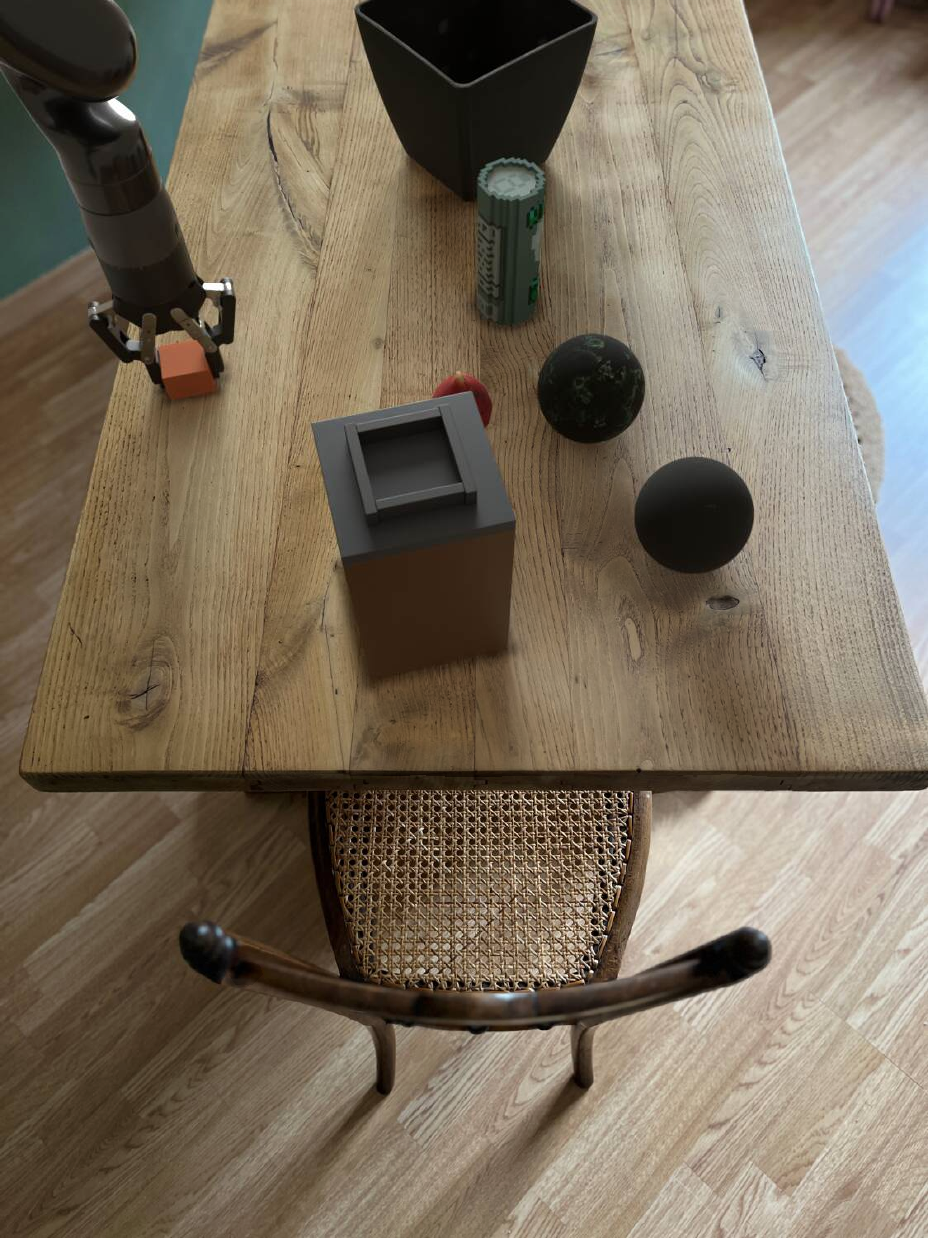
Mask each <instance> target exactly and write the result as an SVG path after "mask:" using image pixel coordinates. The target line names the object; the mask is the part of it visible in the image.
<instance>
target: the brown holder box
mask: <svg viewBox="0 0 928 1238" xmlns="http://www.w3.org/2000/svg"><path fill="white" fill-rule="evenodd" d="M310 426H311V431H312V435H313V439H314V444H315V449H316V454H317V458H318V462H319V466H320V471H321V474H322V479H323V484H324V488H325V493H326V498H327V501H328V507H329V511H330V515H331V520H332V524H333V528H334V533H335V537H336V542H337V547H338V552H339V556H340V559H341V564H342V569H343V572H344V577H345V581H346V585H347V590H348V593H349V598H350V602H351V607H352V611H353V615H354V621H355V624H356V627H357V632H358V637H359V642H360V645H361V648H362V653H363V658H364V662H365V666H366V671H367V674H368V680H369V681H370V682H373V681H376V680H381V679H387V678H389V677H395V676H399V675H402V674H408V673H412V672H415V671H416V672H417V671H420V670H424V669H430V668H433V667H437V666H443V665H446V664H451V663H454V662H460V661H463V660H469V659H472V658H476V657H480V656H484V655H489V654H493V653H494V654H495V653H498V652H502V651H507V650H508V649H509V634H510V622H511V620H510V619H511V605H512V591H513V577H514V575H513V574H514V561H515V547H516V546H515V545H516V534H517V533H516V530H517V518H516V516H515V512H514V509H513V506H512V503H511V501H510V498H509V495H508V492H507V489H506V486H505V483H504V481H503V478H502V474H501V471H500V469H499V466H498V462H497V459H496V457H495V453H494V451H493V448H492V445H491V442H490V440H489V437H488V434H487V431H486V428H484V425H483V422H482V419H481V416H480V413H479V410H478V407H477V404H476V401H475V398H474V395H473V393H472V391H470V392H464V393H459V394H454V395H449V396H444V397H439V398H434V399H432V398H430V399H424V400H420V401H419V400H418V401H415V402H410V403H405V404H400V405H399V404H398V405H394V406H389V407H385V408H380V409H379V408H378V409H375V410H369V411H365V412H360V413H354V414H350V415H349V414H348V415H344V416H340V417H339V416H338V417H334V418H328V419H323V420H319V421H314V422H311V423H310Z"/></svg>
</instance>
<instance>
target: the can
mask: <svg viewBox="0 0 928 1238" xmlns="http://www.w3.org/2000/svg"><path fill="white" fill-rule="evenodd" d="M546 187H547V179H546V173H545V172H544V171H543V170H542V169H541V168H540V167H539V166H537V165H536V164H535V163H534V162H532V163H529V162H528V161H527V160H526V159H524V160H520V159H519V158H518V159H514V158H513V157H512V158H510V159H507V160H505V159H504V158H502V159H499V160H497V161H494V162H491V163H489V164H486V165H485V168H484V169H482V170H480V174H479V177H478V178H477V200H476V305H477V312H478V313H479V314H480V315H481V316H482V317H483V318H484V320H485V321H486V322H490V321H491V322H492V324H493V325H494V326H496V325H499V326H500V327H501V326H504V327H509V326H511V325H512V326H513V327H515V326H518V325H520V324H523V323H525V322H528V321H530V320H531V317H532V316H533V315H535V314H536V313H535V311H536V310H537V309H536V308H537V307H538V306H537V305H538V294H539V293H538V291H539V281H540V266H541V257H542V255H541V254H542V241H543V230H544V229H543V228H544V216H545V215H544V214H545V201H546V191H547V190H546Z"/></svg>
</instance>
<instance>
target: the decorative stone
mask: <svg viewBox="0 0 928 1238" xmlns="http://www.w3.org/2000/svg"><path fill="white" fill-rule="evenodd" d="M536 384H537V385H536V397H537V402H538V407H539V410H540V411H541V414H542V416H543V418H544V419H545V421H546V423H547V425H549V427H551V429H552V430H553V431H554V432H556V433H557V434H558V435H560V436H561V437H563V438H565V439H567V440H568V441H572V442H574V443H577V444H578V443H579V444H584V445H593V444H594V445H595V444H601V443H604V442H607V441H610V440H613V439H616V437H619V435H621V434H623V433H624V432H625V431H626V430H627V429H629V428H630V427H631V426H632V424H633V423H634V422H635V420H636V419H637V417H638V415H639V414H640V412H641V410H642V407H643V405H644V401H645V396H646V377H645V373H644V369H643V367H642V364H641V362H640V359H638V357H637V356H636V354H635V353H634V352H633V351H632V349H631V348H630V347H629V346H628V345H627V344H625V343H624V342H623V341H621V340H620V339H617V338H615V337H613V336H611V335H607V334H604V333H595V332H594V333H590V332H589V333H584V334H579V335H576V336H573V337H570V338H569V339H567V340H564V341H563V342H562V343H560V344H559V345H557V346H556V347H555V348H554V349H553V350H552V351H551V352H550V353H549V354H548V356H547V357H546V358H545V360H544V362H543V363H542V366H541V369H540V370H539V373H538V377H537V383H536Z"/></svg>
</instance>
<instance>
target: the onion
mask: <svg viewBox="0 0 928 1238" xmlns="http://www.w3.org/2000/svg"><path fill="white" fill-rule="evenodd" d="M470 391H472V393H473V395H474V398H475V401H476V404H477V407H478V410H479V413H480V416H481V419H482V422H483V425H484V428H485V429H486V428H487V427H488V426H489V425H490V424H491V420H492V419H491V418H492V413H493V401H492V399H491V397H490V393H489V391H488V389H487V388H486V386H485V385H484V384H483V383H482V382H481V381H480V380H479V379H477V378H476V377H474V376H472V375H469V374H463V372H462V371H460V370H459V371H456V372H455V374H454V375H451V376H449V377H448V378H446V379H443V381H441V382H440V384H438V386H437V387H436V388H435V390H434V392H433V394H432V397H431V399H434V398H439V397H444V396H449V395H454V394H459V393H464V392H470Z"/></svg>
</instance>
